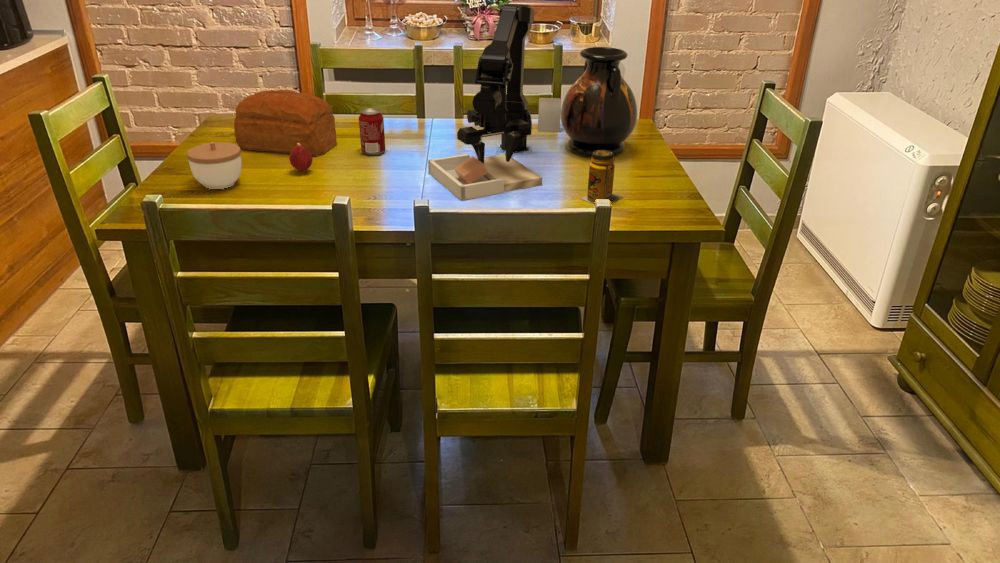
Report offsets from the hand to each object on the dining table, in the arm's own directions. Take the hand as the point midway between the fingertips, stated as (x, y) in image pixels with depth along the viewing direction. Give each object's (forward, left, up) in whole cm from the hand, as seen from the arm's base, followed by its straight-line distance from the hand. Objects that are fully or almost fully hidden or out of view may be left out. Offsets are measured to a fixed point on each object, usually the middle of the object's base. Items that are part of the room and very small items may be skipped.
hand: (494, 163), depth 191 cm
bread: (+43, -48, -4) cm, 65 cm away
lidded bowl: (+65, -25, -4) cm, 70 cm away
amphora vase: (-37, -7, -4) cm, 38 cm away
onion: (+44, -25, -4) cm, 51 cm away
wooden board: (-3, 0, -4) cm, 5 cm away
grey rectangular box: (-34, -29, -4) cm, 45 cm away
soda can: (+22, -32, -4) cm, 39 cm away
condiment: (-18, +24, -4) cm, 30 cm away
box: (+8, 0, -4) cm, 9 cm away
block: (+6, 0, -2) cm, 7 cm away
